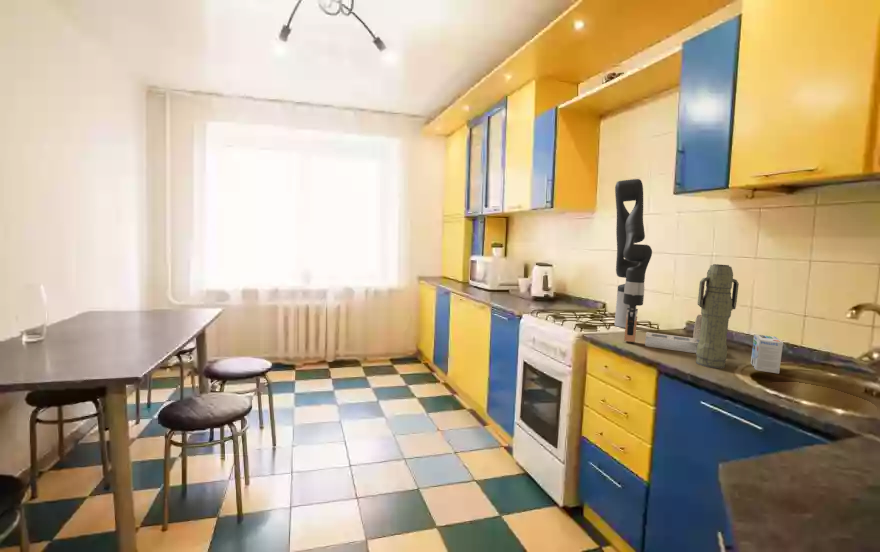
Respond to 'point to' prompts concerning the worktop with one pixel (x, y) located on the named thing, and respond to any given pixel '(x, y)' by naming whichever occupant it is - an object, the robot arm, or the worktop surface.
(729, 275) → the thermos
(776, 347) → the light bulb box
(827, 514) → the worktop surface
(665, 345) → the rack rail
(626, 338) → the square peg
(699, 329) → the carving
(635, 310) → the robot arm
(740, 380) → the worktop surface
